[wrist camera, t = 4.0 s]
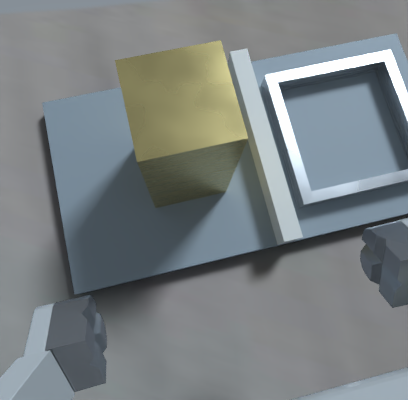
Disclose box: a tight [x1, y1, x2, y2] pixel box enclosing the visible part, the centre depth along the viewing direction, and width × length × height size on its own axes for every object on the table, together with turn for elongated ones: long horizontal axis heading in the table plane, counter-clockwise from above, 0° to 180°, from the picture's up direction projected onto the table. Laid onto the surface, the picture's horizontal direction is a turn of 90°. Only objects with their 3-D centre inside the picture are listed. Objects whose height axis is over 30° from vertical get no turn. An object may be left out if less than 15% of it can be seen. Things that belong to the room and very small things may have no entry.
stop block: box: [115, 40, 248, 208], centre depth 18 cm, size 4×4×8 cm
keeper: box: [261, 50, 408, 209], centre depth 22 cm, size 8×8×1 cm
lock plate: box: [42, 33, 408, 294], centre depth 22 cm, size 22×11×2 cm, turn 104°
